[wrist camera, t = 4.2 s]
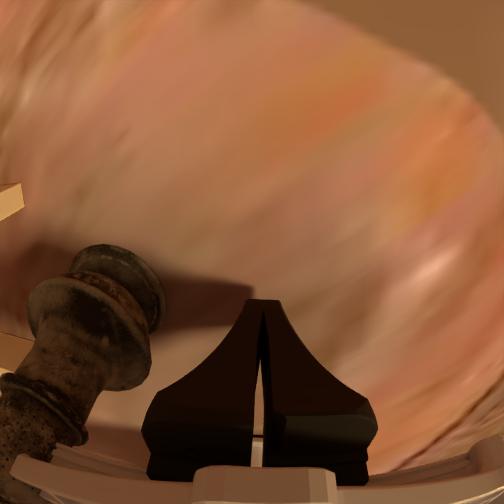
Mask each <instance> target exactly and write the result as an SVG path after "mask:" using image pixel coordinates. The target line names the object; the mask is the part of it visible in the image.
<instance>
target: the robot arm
mask: <svg viewBox="0 0 504 504" xmlns="http://www.w3.org/2000/svg"><path fill="white" fill-rule="evenodd" d="M260 360H261V373H262V386H263V398H264V425H263V438H253V428H254V405H255V390H256V384H257V377H258V370H259V364H260ZM377 430H378V425H377V420H376V417H375V414H374V412H373V409H372V407H371V405H370V403H369V401H368V399H367V398H365V397H364V396H362V395H360V394H359V393H357V392H355V391H354V390H352V389H350V388H349V387H347V386H346V385H345V384H343V383H342V382H341V381H339V380H338V379H337V378H335V377H334V376H333V375H332V374H331V373H330V372H329V371H327V370H326V369H325V368H324V367H323V366H322V365H321V364H320V363H319V362H318V361H317V360H316V359H315V358H314V356H313V355H312V354H311V353H310V352H309V350H308V349H307V348H306V347H305V345H304V344H303V343H302V341H301V340H300V338H299V337H298V335H297V334H296V332H295V331H294V329H293V327H292V326H291V324H290V322H289V320H288V318H287V316H286V314H285V312H284V310H283V308H282V305H281V302H280V301H279V300H260V299H248V300H247V301H246V302H245V305H244V307H243V310H242V312H241V314H240V316H239V317H238V319H237V321H236V322H235V324H234V325H233V327H232V329H231V330H230V331H229V333H228V334H227V335H226V337H225V338H224V339H223V341H222V342H221V343H220V344H219V346H218V347H217V348H216V349H215V350H214V351H213V352H212V353H211V354H210V355H209V356H208V357H207V358H206V359H205V360H204V361H203V362H202V363H201V364H200V365H198V366H197V367H196V368H195V369H193V370H192V371H191V372H189V373H188V374H187V375H185V376H184V377H182V378H181V379H180V380H178V381H177V382H175V383H173V384H171V385H170V386H168V387H166V388H164V389H163V390H160V391H158V392H157V394H156V395H155V397H154V399H153V400H152V402H151V404H150V406H149V408H148V410H147V413H146V415H145V419H144V422H143V425H142V429H141V432H142V436H143V438H144V440H145V442H146V444H147V446H148V448H149V451H150V453H151V456H150V459H149V463H148V467H147V468H142V467H138V466H133V465H129V464H125V463H121V462H117V461H113V460H110V459H106V458H103V457H99V456H96V455H93V454H89V453H86V452H83V451H80V450H77V449H74V448H71V447H68V446H66V445H63V444H60V443H56V445H55V446H56V448H57V449H53V451H52V456H53V458H52V460H51V462H50V463H47V462H43V461H40V460H37V459H34V458H31V457H30V456H29V455H28V454H19V455H18V456H17V458H16V460H15V462H14V464H13V466H12V469H11V471H10V475H12V476H13V477H15V478H16V479H18V480H20V481H23V482H25V483H27V484H29V485H32V486H34V487H37V488H39V489H41V493H40V494H39V495H40V496H41V497H43V498H44V499H46V500H48V501H50V502H49V503H48V504H488V503H489V502H491V501H492V500H494V499H495V498H496V497H498V496H499V495H501V494H502V493H503V492H504V440H503V438H502V435H501V434H496V435H494V436H491V437H488V438H485V439H483V440H480V441H479V442H477V443H476V444H475V445H473V446H472V447H471V449H470V450H469V451H468V453H465V454H462V455H458V456H455V457H452V458H448V459H445V460H441V461H438V462H434V463H430V464H426V465H422V466H418V467H413V468H409V469H404V470H399V471H394V472H388V473H383V474H376V475H370V476H369V475H368V470H367V465H366V461H367V460H368V453H367V448H368V446H369V445H370V443H371V442H372V440H373V439H374V437H375V435H376V433H377Z"/></svg>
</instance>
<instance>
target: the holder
mask: <svg viewBox="0 0 504 504" xmlns="http://www.w3.org/2000/svg"><path fill="white" fill-rule="evenodd" d="M23 207H25V206H24V201H23V195H22V188H21V183H18V184H10V185H2V186H0V221H1V220H3V219H5V218H6V217H8V216H10V215H11V214H13V213H15V212H16V211H18V210H20V209H22V208H23ZM33 345H34V341H30V340H26V339H23V338H19V337H15V336H12V335H8V334H5V333H2V332H0V376H1V375H2V374H3V373H7V372H11V373H14V372H15V371H16V369H17V368H18V367H19V365H20V364H21V362H22V361H23V360H24V358H25V357H26V356H27V354H28V353H29V351H30V350H31V349H32V347H33Z"/></svg>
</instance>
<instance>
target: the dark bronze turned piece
mask: <svg viewBox="0 0 504 504" xmlns="http://www.w3.org/2000/svg"><path fill="white" fill-rule="evenodd" d="M165 313H166V296H165V293H164V290H163V286H162V284H161V282H160V281H159V279H158V277H157V276H156V274H155V272H154V271H153V270H152V269H151V268H150V267H149V266H148V265H147V264H146V263H145V262H144V261H143V260H142V259H140V258H139V257H138V256H136V255H135V254H133V253H132V252H130V251H128V250H125V249H123V248H120V247H118V246H112V245H105V244H102V245H95V246H91V247H89V248H87V249H85V250H83V251H81V252H80V253H79V255H78V256H77V257H76V258H75V259H74V260H73V263H72V265H71V268H70V270H69V273H67V274H63V275H61V276H59V277H55V278H47V279H45V280H44V281H42V282H40V283H38V284H37V285H36V286H35V287H34V289H33V290H32V291H31V293H30V294H29V298H28V303H27V315H28V322H29V325H30V328H31V331H32V334H33V336H34V337H35V339H36V340H35V342H34V345H33V347H32V349H31V350H30V351H29V353H28V354H27V356H26V357H25V358H24V360H23V361H22V362H21V364H20V365H19V367H18V368H17V369H16V371H15V372H14V373H11V372H7V373H3V374H2V375H1V376H0V390H1V393H2V395H1V397H0V504H48V503H49V502H50V501H48V500H46V499H44V498H43V497H41V496H40V495H39V494H40V493H41V489H39V488H37V487H34V486H32V485H29V484H27V483H25V482H23V481H20V480H18V479H16V478H15V477H13V476H12V475H10V471H11V469H12V466H13V464H14V462H15V460H16V458H17V456H18V455H19V454H28V455H29V456H30V457H31V458H34V459H37V460H40V461H43V462H47V463H50V462H51V460H52V458H53V456H52V451H53V449H57V448H56V446H55V445H56V443H60V444H63V445H66V446H68V447H71V448H72V446H80V445H84V444H86V442H87V441H88V439H89V438H88V432H87V430H86V428H85V426H84V425H85V422H86V420H87V418H88V416H89V414H90V411H91V409H92V407H93V405H94V403H95V401H96V399H97V397H98V395H99V394H100V393H101V392H102V391H103V390H106V391H117V392H118V391H125V390H131V389H133V388H135V387H137V386H139V385H141V384H142V383H143V382H144V380H145V379H146V378H147V377H148V375H149V372H150V368H151V364H152V360H151V352H150V341H149V335H150V334H151V333H153V332H154V331H156V330H157V329H158V327H159V326H160V325H161V323H162V322H163V320H164V316H165Z"/></svg>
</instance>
